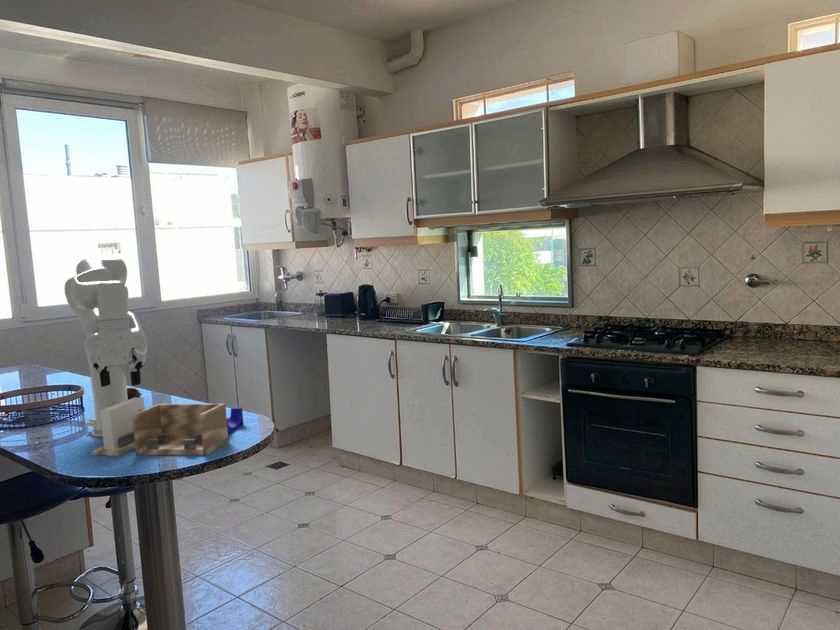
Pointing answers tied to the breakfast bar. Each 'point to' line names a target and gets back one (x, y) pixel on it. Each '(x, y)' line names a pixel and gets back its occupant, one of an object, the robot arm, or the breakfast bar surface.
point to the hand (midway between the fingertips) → (121, 385)
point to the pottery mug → (133, 393)
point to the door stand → (124, 446)
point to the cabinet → (180, 429)
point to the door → (119, 421)
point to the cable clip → (235, 419)
